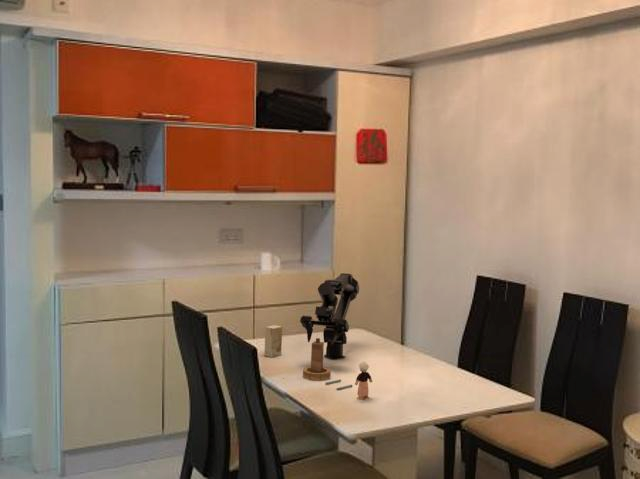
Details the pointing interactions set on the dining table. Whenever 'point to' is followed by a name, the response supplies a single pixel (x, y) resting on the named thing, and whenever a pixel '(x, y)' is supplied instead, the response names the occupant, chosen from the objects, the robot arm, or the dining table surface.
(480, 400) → the dining table surface
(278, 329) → the skincare box
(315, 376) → the bead ring
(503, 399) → the dining table surface
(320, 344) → the brown wooden peg
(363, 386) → the grandmother figurine
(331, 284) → the robot arm
